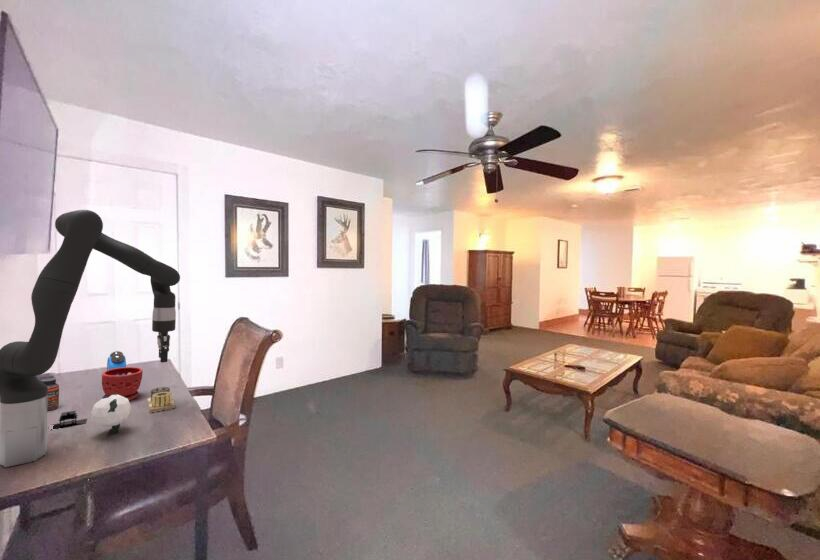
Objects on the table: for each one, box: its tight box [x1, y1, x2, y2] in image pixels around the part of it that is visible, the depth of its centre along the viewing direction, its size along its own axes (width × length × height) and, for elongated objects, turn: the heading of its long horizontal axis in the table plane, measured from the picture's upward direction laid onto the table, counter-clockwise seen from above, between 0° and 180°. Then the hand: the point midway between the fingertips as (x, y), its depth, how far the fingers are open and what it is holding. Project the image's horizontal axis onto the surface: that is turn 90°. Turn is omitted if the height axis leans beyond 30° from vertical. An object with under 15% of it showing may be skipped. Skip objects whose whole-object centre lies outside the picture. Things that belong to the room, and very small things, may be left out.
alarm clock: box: [106, 350, 127, 375], centre depth 163 cm, size 13×6×15 cm, turn 44°
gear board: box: [146, 386, 176, 414], centre depth 142 cm, size 14×8×6 cm, turn 39°
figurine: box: [90, 393, 132, 437], centre depth 118 cm, size 18×10×13 cm, turn 38°
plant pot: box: [101, 366, 143, 401], centre depth 147 cm, size 13×13×12 cm
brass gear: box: [152, 391, 172, 407], centre depth 140 cm, size 6×6×4 cm
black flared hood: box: [50, 410, 88, 431], centre depth 123 cm, size 12×7×5 cm, turn 131°
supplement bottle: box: [40, 377, 60, 412], centre depth 135 cm, size 6×6×11 cm
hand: (162, 359), depth 139 cm, fingers open, 8 cm apart
